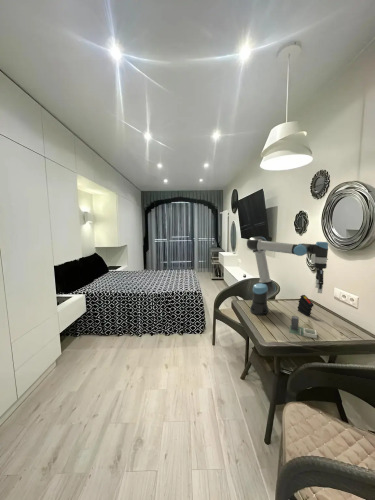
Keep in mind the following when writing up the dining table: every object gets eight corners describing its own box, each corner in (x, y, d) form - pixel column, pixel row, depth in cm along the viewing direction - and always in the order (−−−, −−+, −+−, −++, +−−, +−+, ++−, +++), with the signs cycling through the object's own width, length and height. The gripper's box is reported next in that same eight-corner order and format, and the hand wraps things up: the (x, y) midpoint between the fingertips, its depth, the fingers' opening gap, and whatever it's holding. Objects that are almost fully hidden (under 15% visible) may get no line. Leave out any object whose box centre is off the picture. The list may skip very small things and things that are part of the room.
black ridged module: (298, 307, 176) (304, 294, 168) (308, 319, 165) (315, 306, 157) (294, 307, 175) (301, 294, 167) (304, 319, 164) (311, 306, 156)
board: (289, 334, 134) (289, 329, 134) (289, 326, 145) (290, 322, 144) (317, 340, 127) (317, 335, 126) (315, 332, 137) (316, 327, 137)
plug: (291, 329, 139) (291, 317, 138) (291, 326, 143) (291, 315, 142) (298, 330, 137) (298, 319, 136) (298, 328, 140) (298, 316, 140)
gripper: (329, 266, 135) (327, 296, 137) (324, 260, 157) (322, 286, 160) (316, 265, 138) (314, 294, 141) (312, 259, 160) (311, 285, 163)
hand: (318, 290), depth 150 cm, fingers open, 13 cm apart
